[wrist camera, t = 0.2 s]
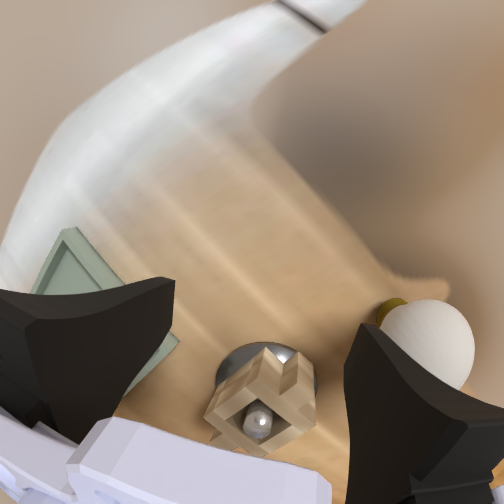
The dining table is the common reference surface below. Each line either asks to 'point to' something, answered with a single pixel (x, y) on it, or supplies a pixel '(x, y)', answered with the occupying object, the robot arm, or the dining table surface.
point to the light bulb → (431, 336)
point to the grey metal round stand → (258, 411)
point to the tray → (86, 281)
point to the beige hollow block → (272, 394)
